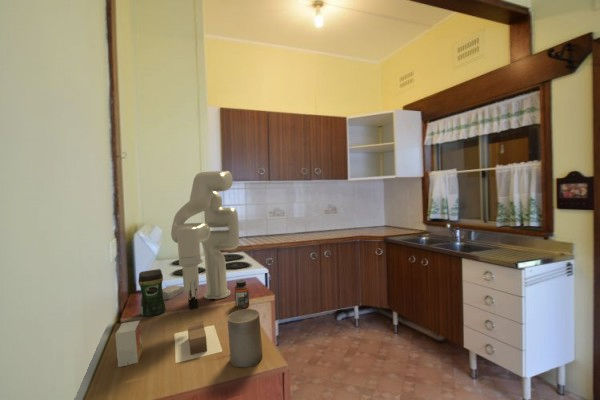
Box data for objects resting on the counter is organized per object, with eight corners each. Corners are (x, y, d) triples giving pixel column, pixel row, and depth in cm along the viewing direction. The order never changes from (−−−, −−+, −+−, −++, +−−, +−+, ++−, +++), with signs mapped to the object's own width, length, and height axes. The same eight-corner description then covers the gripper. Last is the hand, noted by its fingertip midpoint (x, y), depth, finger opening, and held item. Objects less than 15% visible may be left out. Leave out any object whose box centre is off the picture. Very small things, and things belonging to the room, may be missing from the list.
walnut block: (187, 324, 110) (189, 339, 99) (202, 321, 112) (206, 336, 101) (188, 338, 110) (190, 355, 99) (203, 335, 112) (207, 351, 101)
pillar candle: (256, 347, 103) (252, 302, 102) (267, 361, 95) (263, 312, 94) (226, 356, 99) (222, 309, 98) (235, 372, 90) (231, 321, 89)
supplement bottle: (238, 303, 142) (237, 278, 141) (251, 303, 141) (249, 278, 140) (233, 308, 136) (231, 282, 135) (246, 309, 135) (244, 283, 134)
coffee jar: (165, 307, 141) (162, 266, 140) (166, 313, 134) (163, 270, 133) (141, 312, 137) (138, 270, 136) (140, 318, 130) (137, 274, 129)
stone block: (153, 303, 152) (171, 299, 151) (151, 293, 152) (169, 290, 151) (168, 295, 164) (185, 291, 162) (166, 286, 164) (183, 282, 162)
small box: (138, 363, 97) (135, 330, 96) (117, 367, 95) (114, 333, 94) (143, 350, 104) (140, 319, 104) (124, 354, 103) (121, 322, 102)
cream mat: (174, 334, 115) (174, 333, 115) (214, 326, 120) (214, 325, 120) (175, 364, 95) (175, 362, 95) (222, 352, 101) (222, 351, 101)
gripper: (178, 257, 121) (181, 303, 122) (179, 266, 107) (183, 318, 109) (198, 254, 124) (202, 299, 125) (202, 263, 110) (206, 314, 112)
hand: (193, 308), depth 117 cm, fingers closed
